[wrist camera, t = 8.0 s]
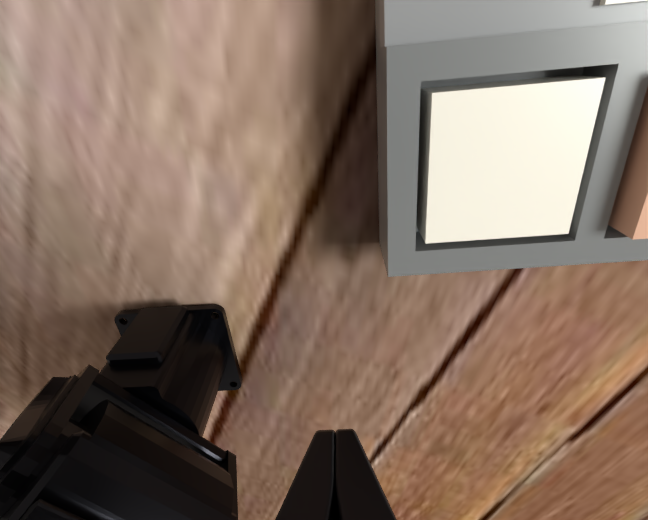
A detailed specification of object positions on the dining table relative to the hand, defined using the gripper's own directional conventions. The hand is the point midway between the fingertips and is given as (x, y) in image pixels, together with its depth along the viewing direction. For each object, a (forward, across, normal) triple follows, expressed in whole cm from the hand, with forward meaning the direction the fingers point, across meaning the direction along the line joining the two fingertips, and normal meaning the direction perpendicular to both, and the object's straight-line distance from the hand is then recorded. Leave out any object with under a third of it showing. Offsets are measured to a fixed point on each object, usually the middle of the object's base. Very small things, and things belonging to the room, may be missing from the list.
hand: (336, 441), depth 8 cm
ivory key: (+11, -7, -3) cm, 14 cm away
